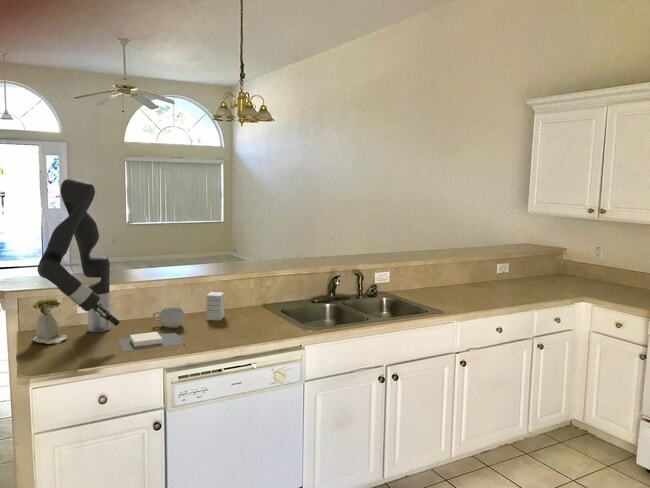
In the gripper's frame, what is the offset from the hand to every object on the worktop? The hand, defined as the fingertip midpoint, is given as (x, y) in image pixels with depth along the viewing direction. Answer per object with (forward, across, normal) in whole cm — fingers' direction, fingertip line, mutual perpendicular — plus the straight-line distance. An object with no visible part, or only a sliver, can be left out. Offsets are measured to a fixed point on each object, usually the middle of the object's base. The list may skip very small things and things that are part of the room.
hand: (117, 323), depth 207 cm
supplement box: (+42, +25, -28) cm, 56 cm away
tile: (+9, 0, +2) cm, 9 cm away
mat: (+16, 0, -2) cm, 16 cm away
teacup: (+25, +20, -11) cm, 34 cm away
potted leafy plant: (-9, +22, +24) cm, 33 cm away
